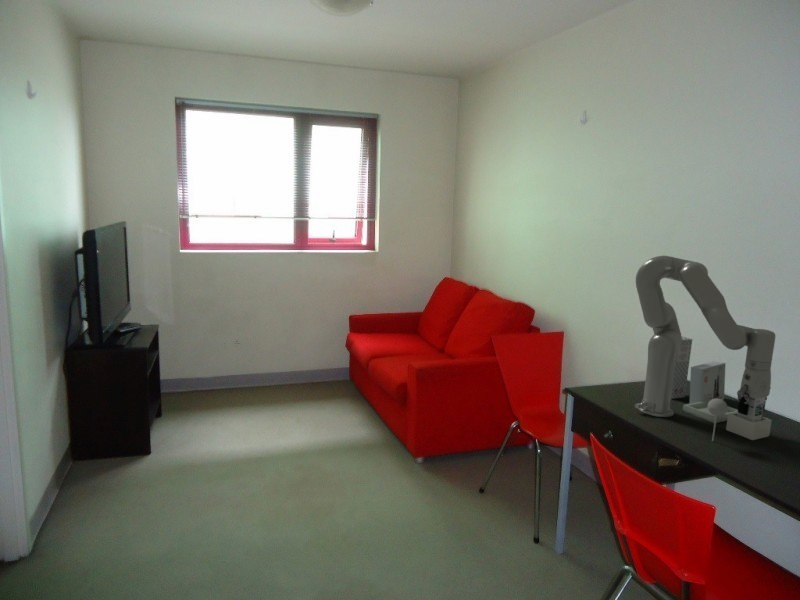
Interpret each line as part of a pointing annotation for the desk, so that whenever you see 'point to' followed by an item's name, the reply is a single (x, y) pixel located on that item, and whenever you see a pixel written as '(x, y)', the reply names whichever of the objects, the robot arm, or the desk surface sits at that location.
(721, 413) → the lollipop
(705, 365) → the skincare box
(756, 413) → the syrup box
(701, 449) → the desk surface
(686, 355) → the box
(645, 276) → the robot arm
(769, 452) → the desk surface
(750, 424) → the white open storage bin
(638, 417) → the desk surface
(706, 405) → the tray
